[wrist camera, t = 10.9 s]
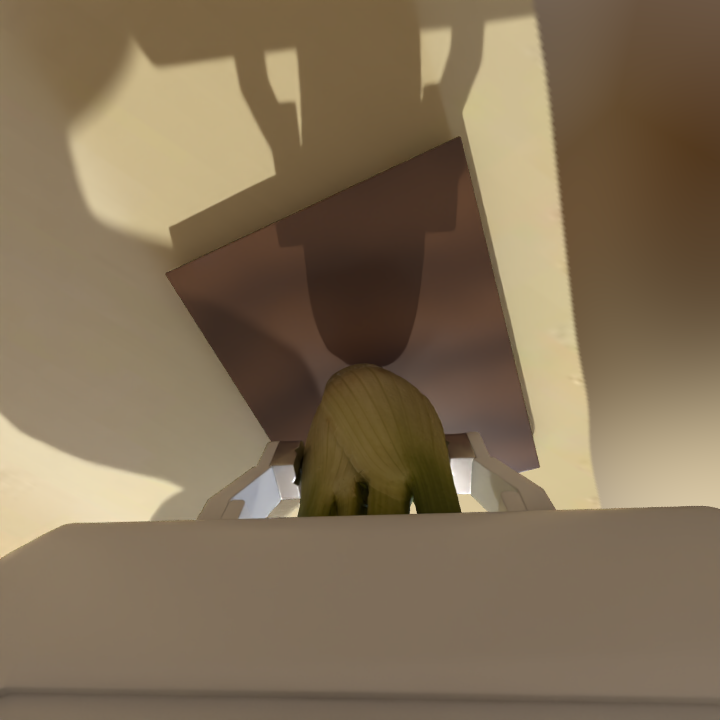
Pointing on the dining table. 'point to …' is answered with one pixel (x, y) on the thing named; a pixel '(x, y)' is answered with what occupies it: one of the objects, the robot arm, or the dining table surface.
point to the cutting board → (368, 305)
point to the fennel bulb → (375, 449)
